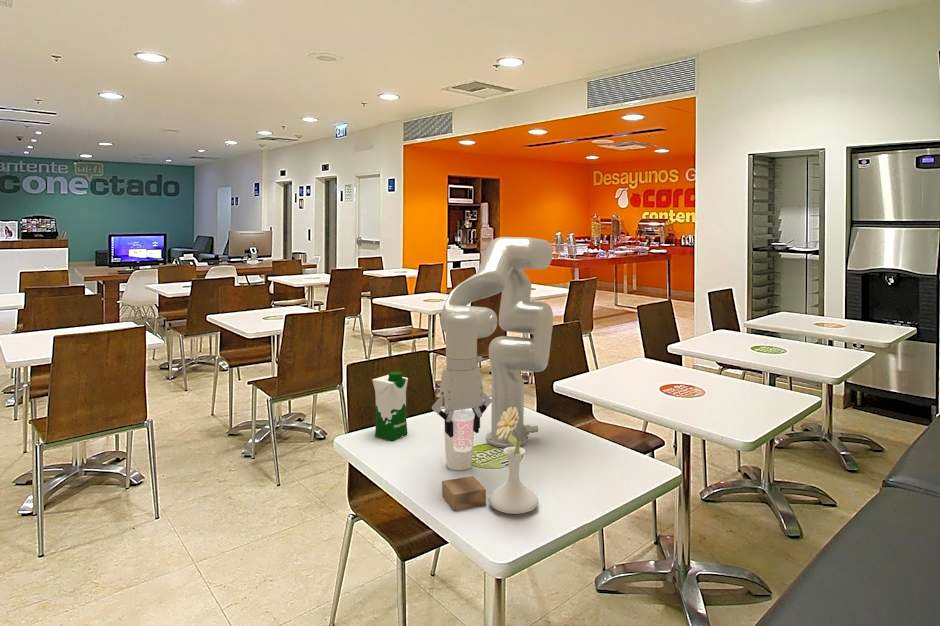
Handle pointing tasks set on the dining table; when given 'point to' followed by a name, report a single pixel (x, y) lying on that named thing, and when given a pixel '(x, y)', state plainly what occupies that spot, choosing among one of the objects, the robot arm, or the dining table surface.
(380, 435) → the milk carton
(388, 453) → the dining table surface
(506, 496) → the flower in vase
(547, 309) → the robot arm
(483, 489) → the riser
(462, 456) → the white cup
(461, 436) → the beverage cup
